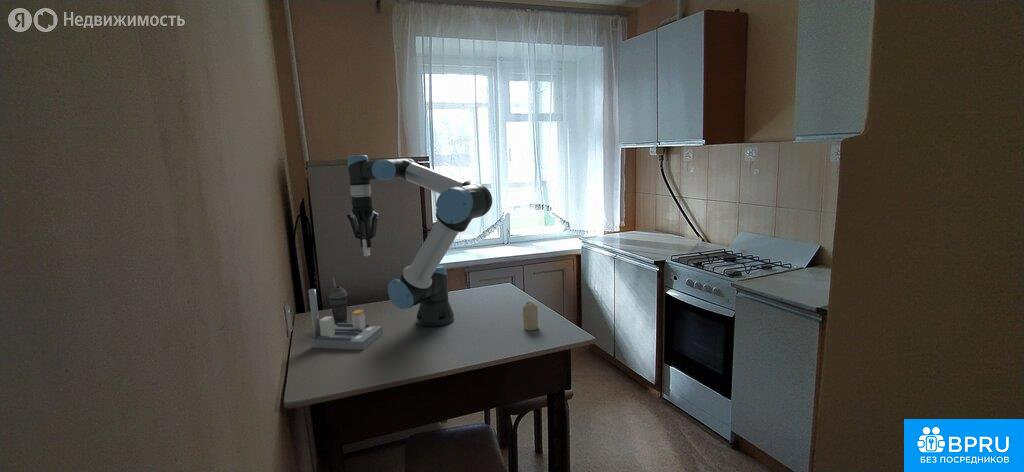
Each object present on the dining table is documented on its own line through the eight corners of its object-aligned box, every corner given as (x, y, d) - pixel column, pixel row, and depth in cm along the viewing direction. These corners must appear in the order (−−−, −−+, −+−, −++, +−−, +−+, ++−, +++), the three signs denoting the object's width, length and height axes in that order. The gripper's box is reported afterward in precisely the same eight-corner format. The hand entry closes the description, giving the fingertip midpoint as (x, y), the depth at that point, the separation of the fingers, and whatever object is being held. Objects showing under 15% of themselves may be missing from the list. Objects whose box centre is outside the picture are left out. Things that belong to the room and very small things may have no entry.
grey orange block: (365, 327, 181) (364, 309, 180) (360, 330, 177) (358, 313, 176) (358, 326, 182) (356, 309, 181) (353, 330, 178) (351, 313, 177)
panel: (382, 333, 182) (381, 323, 181) (363, 349, 168) (362, 339, 167) (335, 332, 186) (334, 322, 185) (312, 347, 172) (311, 337, 171)
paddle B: (335, 334, 175) (333, 316, 174) (328, 338, 171) (326, 320, 170) (327, 334, 176) (325, 316, 175) (321, 338, 172) (319, 320, 171)
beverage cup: (344, 327, 190) (339, 279, 187) (327, 327, 192) (322, 279, 188) (353, 321, 197) (348, 274, 194) (337, 320, 199) (332, 274, 195)
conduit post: (322, 336, 174) (316, 288, 170) (318, 339, 171) (312, 290, 168) (316, 336, 174) (310, 288, 171) (312, 338, 172) (306, 290, 169)
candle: (541, 327, 182) (540, 302, 180) (531, 331, 178) (530, 305, 176) (530, 324, 185) (529, 299, 184) (520, 328, 181) (519, 303, 180)
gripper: (381, 194, 186) (386, 253, 190) (350, 195, 189) (356, 253, 193) (372, 196, 179) (378, 257, 183) (340, 197, 182) (347, 257, 186)
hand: (367, 255), depth 188 cm, fingers closed
